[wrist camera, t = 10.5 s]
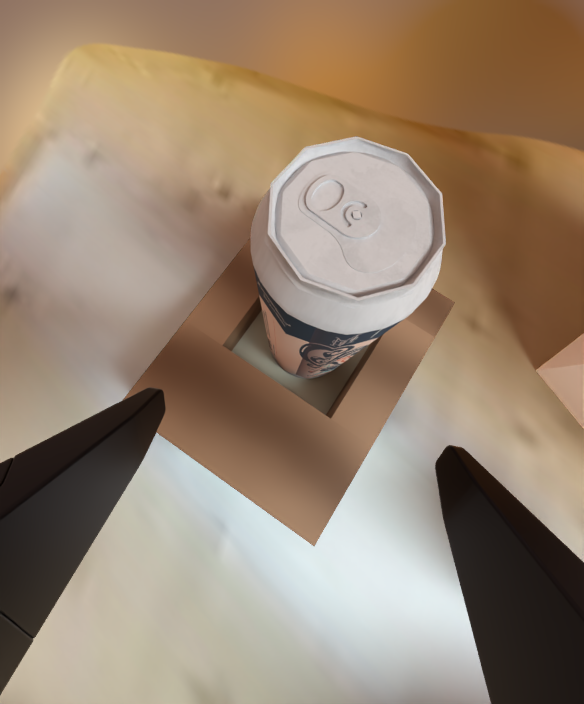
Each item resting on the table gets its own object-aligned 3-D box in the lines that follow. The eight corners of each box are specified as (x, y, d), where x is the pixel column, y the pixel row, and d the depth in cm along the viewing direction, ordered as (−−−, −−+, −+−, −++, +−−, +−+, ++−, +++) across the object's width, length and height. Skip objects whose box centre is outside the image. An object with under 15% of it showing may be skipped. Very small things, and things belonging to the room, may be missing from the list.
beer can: (313, 395, 17) (385, 369, 5) (253, 347, 18) (197, 226, 6) (359, 336, 18) (507, 200, 6) (300, 291, 18) (334, 86, 7)
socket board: (309, 524, 16) (314, 546, 13) (142, 405, 17) (118, 405, 14) (432, 316, 19) (454, 302, 16) (282, 223, 20) (282, 196, 17)
